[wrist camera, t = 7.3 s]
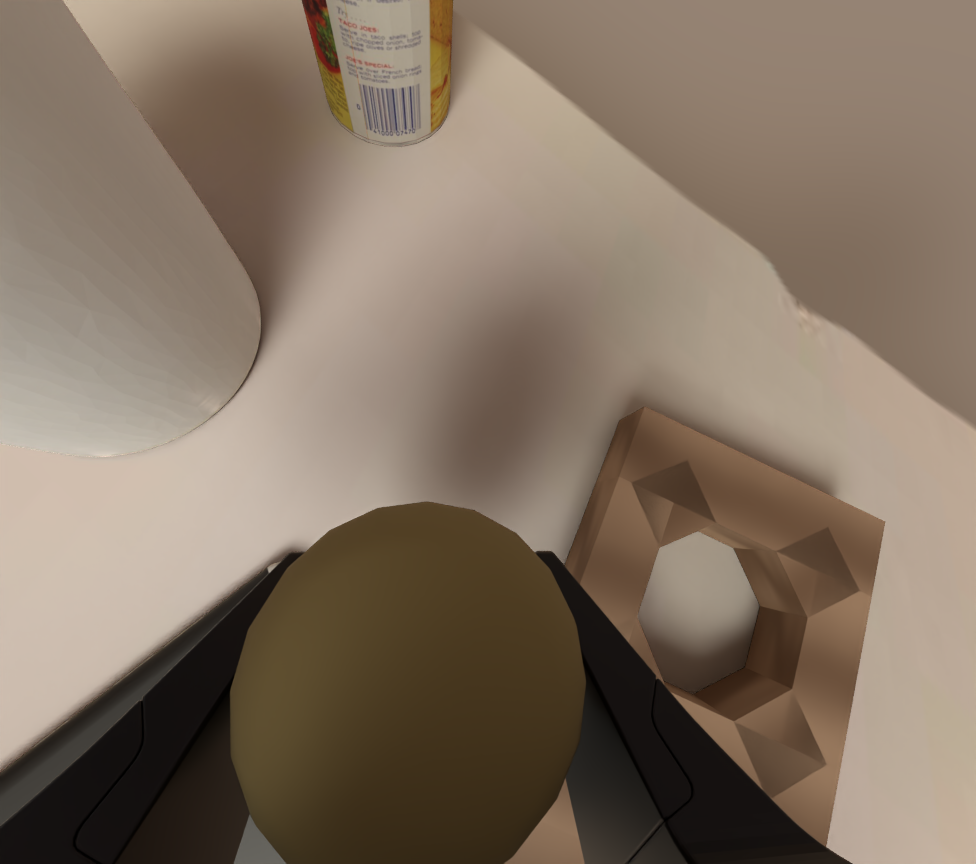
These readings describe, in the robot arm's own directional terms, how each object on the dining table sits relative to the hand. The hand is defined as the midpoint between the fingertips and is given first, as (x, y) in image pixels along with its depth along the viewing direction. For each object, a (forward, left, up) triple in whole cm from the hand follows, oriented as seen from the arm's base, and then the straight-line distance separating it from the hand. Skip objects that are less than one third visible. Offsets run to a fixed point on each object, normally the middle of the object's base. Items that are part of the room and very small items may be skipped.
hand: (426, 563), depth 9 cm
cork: (-1, +1, -7) cm, 7 cm away
